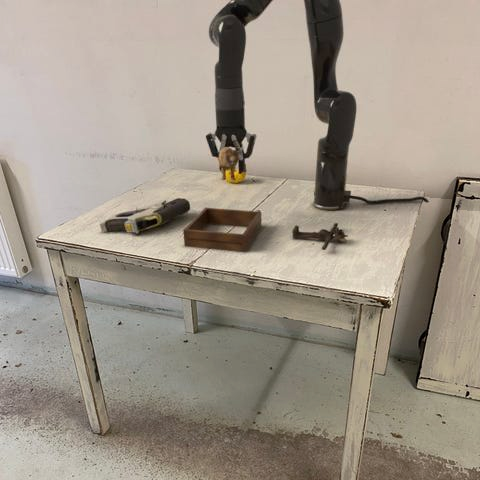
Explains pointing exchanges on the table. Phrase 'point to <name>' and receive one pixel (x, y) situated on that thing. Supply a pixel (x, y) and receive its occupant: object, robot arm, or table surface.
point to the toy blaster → (146, 216)
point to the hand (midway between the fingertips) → (232, 172)
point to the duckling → (237, 176)
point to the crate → (221, 239)
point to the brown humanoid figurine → (322, 235)
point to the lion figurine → (228, 161)
